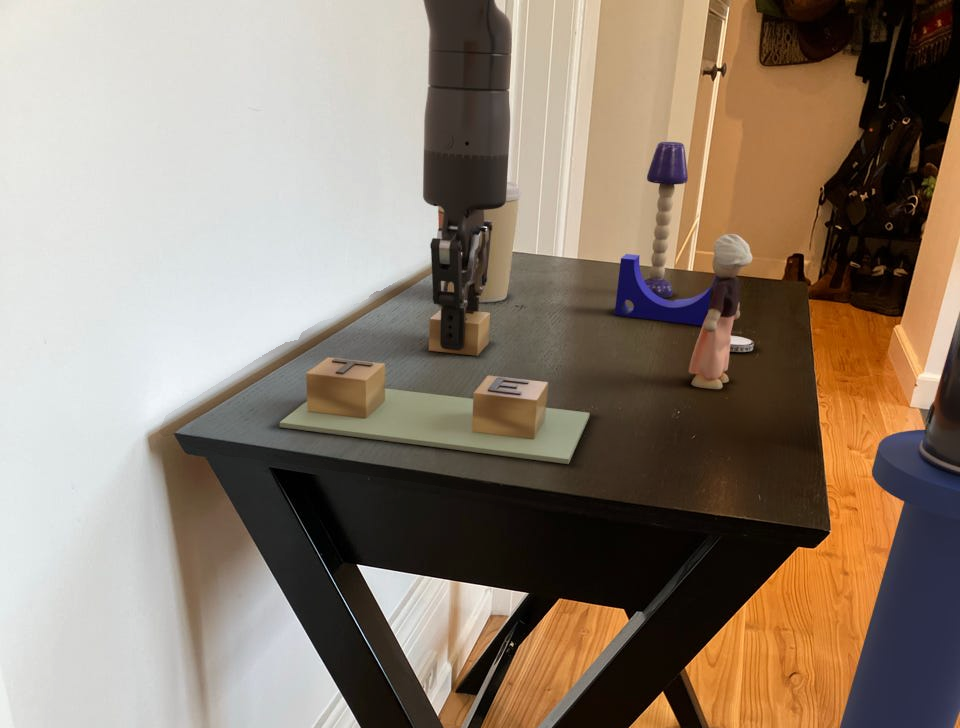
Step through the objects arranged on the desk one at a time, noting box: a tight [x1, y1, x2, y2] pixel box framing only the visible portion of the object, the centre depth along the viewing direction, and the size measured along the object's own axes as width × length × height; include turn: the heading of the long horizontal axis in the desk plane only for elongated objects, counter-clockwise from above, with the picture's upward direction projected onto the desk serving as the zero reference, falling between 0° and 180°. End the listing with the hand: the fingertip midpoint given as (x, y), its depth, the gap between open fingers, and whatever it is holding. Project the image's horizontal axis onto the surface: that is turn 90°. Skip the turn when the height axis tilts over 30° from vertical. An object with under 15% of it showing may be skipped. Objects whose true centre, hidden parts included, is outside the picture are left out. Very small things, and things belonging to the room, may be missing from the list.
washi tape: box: [730, 335, 755, 353], centre depth 102 cm, size 4×4×1 cm
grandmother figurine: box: [688, 233, 753, 390], centre depth 87 cm, size 8×4×13 cm, turn 162°
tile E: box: [472, 374, 549, 439], centre depth 76 cm, size 5×5×3 cm
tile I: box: [428, 309, 491, 357], centre depth 97 cm, size 5×5×3 cm
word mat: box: [279, 388, 591, 465], centre depth 78 cm, size 22×11×1 cm, turn 77°
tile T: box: [305, 356, 386, 418], centre depth 78 cm, size 5×5×3 cm
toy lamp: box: [643, 141, 689, 299], centre depth 118 cm, size 5×5×17 cm
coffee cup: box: [437, 181, 522, 304], centre depth 114 cm, size 9×9×12 cm
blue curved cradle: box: [614, 253, 718, 327], centre depth 111 cm, size 12×4×6 cm, turn 72°
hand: (459, 341), depth 97 cm, fingers closed on tile I, 4 cm apart
